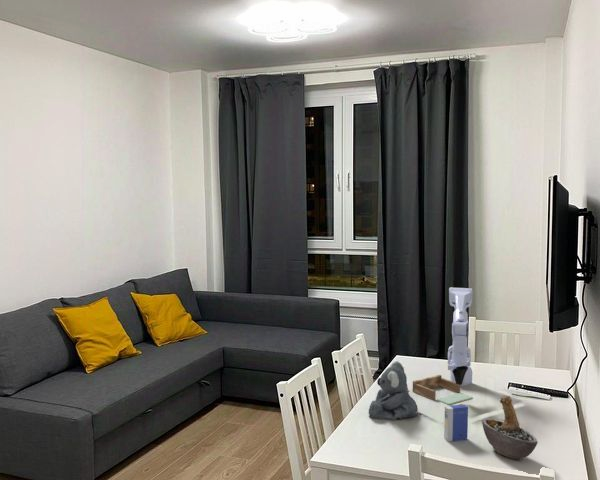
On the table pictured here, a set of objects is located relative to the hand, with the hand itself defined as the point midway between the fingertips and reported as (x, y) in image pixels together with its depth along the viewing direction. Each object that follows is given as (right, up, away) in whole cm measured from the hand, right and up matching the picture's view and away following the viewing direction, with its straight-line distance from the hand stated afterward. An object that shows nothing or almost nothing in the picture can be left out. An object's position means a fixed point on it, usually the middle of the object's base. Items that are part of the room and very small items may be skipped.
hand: (458, 384), depth 241 cm
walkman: (-10, -11, -33) cm, 36 cm away
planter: (+4, -13, -45) cm, 47 cm away
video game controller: (-23, -8, +13) cm, 28 cm away
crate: (-7, -8, +11) cm, 15 cm away
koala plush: (-28, -10, -9) cm, 31 cm away
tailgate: (-3, -7, +5) cm, 9 cm away
